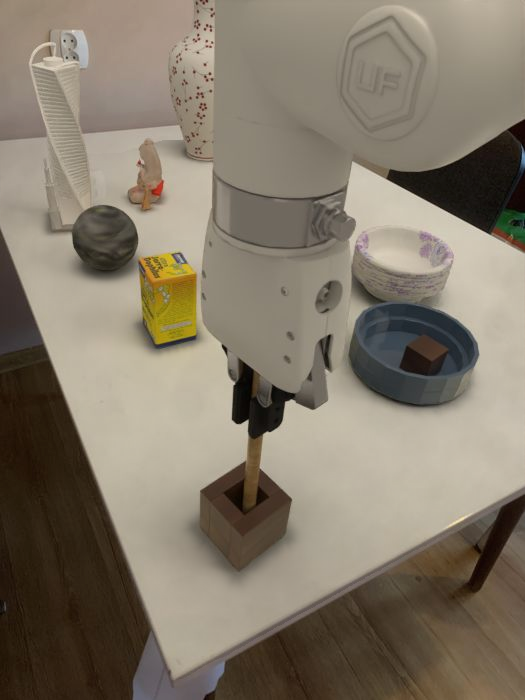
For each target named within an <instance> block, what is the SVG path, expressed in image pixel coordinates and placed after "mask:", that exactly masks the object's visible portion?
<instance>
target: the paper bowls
mask: <svg viewBox="0 0 525 700" xmlns="http://www.w3.org/2000/svg"><path fill="white" fill-rule="evenodd" d="M454 259H455V258H454V254H453V251H452V249H451V248H450V246H449V245H448V244H447V243H446V242H445V241H443V240H442V239H440V238H439V237H437V236H436V235H434V234H432V233H430V232H427V231H424V230H421V229H418V228H414V227H409V226H403V225H380V226H379V225H378V226H375V227H371V228H368V229H366V230H364V231H362V232H361V233H360V234H359V236H358V237H357V238H356V241H355V244H354V250H353V254H352V259H351V272H352V273H353V275H354V276H355V278H356V279H357V280H358V281H359V282H360V283H361V284H363V286H364V288H365V290H366V291H367V292H368V293H369V294H371V296H373V297H375V298H377V299H378V300H380V301H383V302H389V301H397V302H412V303H418V302H421V301H422V300H423V299H425V298H429V297H433V296H435V295H437V294H439V293H440V292H441V291H442V290H443V289H444V288H445V286H446V284H447V283H448V282H447V281H448V278H449V276H450V274H451V269H452V266H453V264H454Z"/></svg>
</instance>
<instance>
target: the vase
mask: <svg viewBox="0 0 525 700" xmlns="http://www.w3.org/2000/svg"><path fill="white" fill-rule="evenodd" d="M214 35H215V0H193V17H192V21H191V26H190V29H189V31H188V33H187V35H185V37H183V38H182V39H181V40H179V41H178V42H177V43H176V44H174V45H172V48H171V49H170V51H169V54H168V65H167V66H168V67H167V71H168V72H167V73H168V81H169V90H170V99H171V103H172V106H173V109H174V112H175V116H176V118H177V122H178V126H179V129H180V131H181V136H182V138H183V142H184V145H185V148H186V155H187V157H189V158H191V159H194V160H197V161H202V162H203V161H204V162H205V161H207V162H208V161H209V162H211V161H213V106H214Z"/></svg>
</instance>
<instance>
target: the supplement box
mask: <svg viewBox="0 0 525 700" xmlns="http://www.w3.org/2000/svg"><path fill="white" fill-rule="evenodd" d="M137 263H138V274H139V287H140V298H141V299H140V300H141V314H142V325H143V326H144V327H145V329H146V331H147V333H148V334H149V337H150V338H151V340H152V342H153V345H154V347H155V348H156V349H157V350H158V349H162V348H165V347H170V346H173V345H178V344H181V343H186V342H190V341H193V340H197V302H198V301H197V298H198V297H197V295H198V294H197V293H198V292H197V291H198V290H197V289H198V284H197V283H198V274H197V272H196V271H195V270H194V269H193V268H192V267H191V265H190V264H189V261H187V259H186V257H185V256H184V254H183V253H182V252H181V251H180V250H177V251H173V252H167V253H162V254H156V255H149V256H144V257H143V256H142V257H139V258H138V259H137Z"/></svg>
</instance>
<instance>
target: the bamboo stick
mask: <svg viewBox="0 0 525 700" xmlns="http://www.w3.org/2000/svg"><path fill="white" fill-rule="evenodd" d="M259 378H260V374H259V373H257V372H256V371H255V370H254V372H253V384H252V397H251V399H252V398H253V397H255V396H257V390H258V384H259ZM263 442H264V434H263V435H261V436H260V437H258V438H257V439H255V440H253V439H252V438H251V437H250V436H249V435H248V434H247V447H246V457H245V458H246V459H245V461H246V470H245V482H244V494H243V506H242V514H243V515H246V514H247V513H248V512H250V511H251V510H253V509H254V508H255V507H256V497H257V488H258V479H259V470H260V469H261V461H262V450H263Z"/></svg>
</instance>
